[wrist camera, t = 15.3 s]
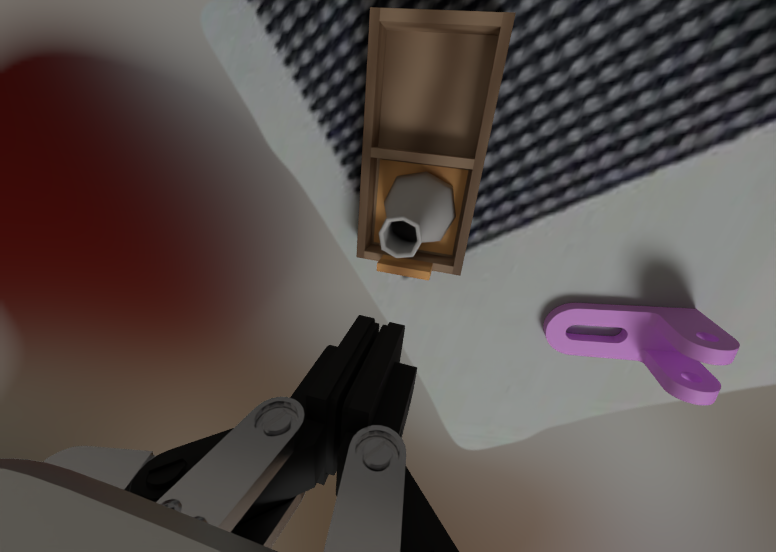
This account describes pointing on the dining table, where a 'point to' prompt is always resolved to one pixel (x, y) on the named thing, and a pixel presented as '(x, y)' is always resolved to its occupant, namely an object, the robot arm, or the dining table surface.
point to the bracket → (650, 343)
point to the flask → (416, 213)
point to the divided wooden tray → (428, 120)
